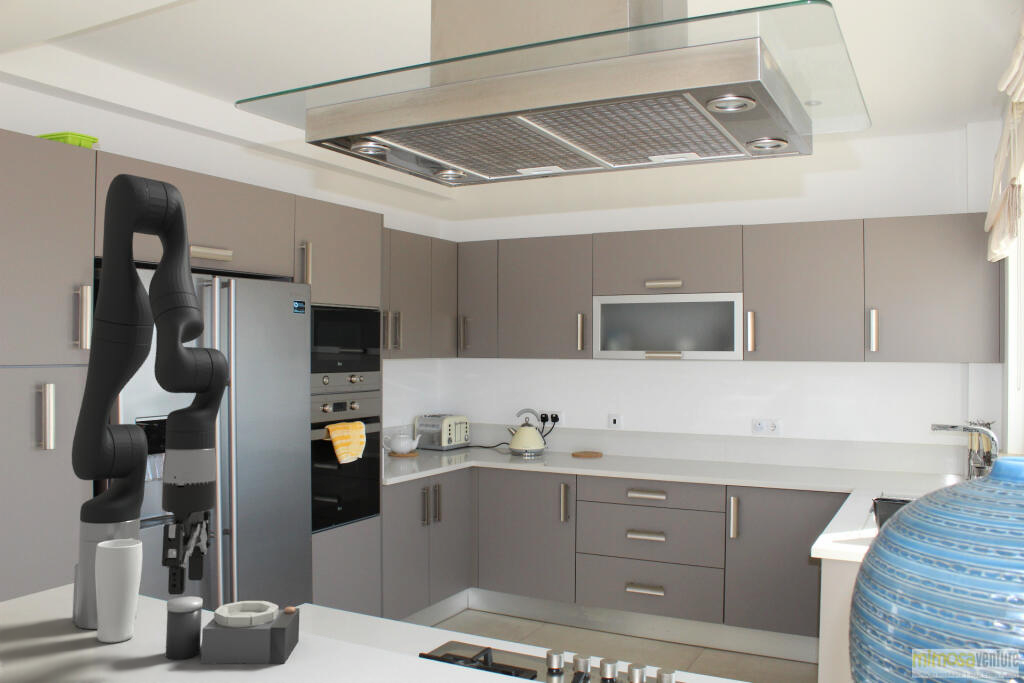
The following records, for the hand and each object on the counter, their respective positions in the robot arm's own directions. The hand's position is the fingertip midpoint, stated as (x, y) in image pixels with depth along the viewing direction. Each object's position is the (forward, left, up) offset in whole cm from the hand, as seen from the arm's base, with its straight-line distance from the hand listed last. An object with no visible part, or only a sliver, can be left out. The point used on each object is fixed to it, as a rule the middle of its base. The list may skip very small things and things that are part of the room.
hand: (186, 586), depth 122 cm
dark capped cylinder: (0, 0, -10) cm, 10 cm away
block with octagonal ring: (+8, +6, -10) cm, 14 cm away
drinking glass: (-15, 0, -10) cm, 18 cm away
